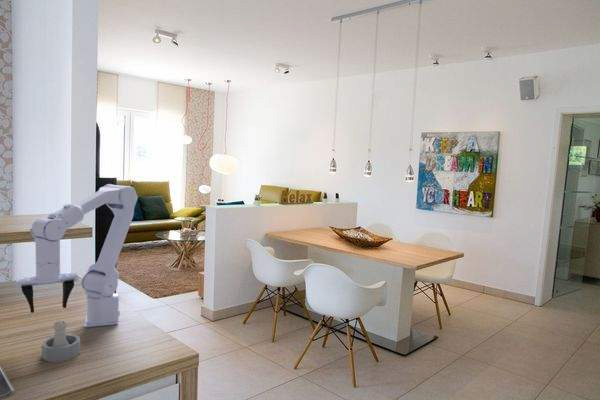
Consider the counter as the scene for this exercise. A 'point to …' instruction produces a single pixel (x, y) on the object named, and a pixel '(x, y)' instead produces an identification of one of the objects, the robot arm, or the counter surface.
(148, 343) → the counter surface
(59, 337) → the rook chess piece
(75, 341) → the grey faceted bowl
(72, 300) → the counter surface
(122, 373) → the counter surface
